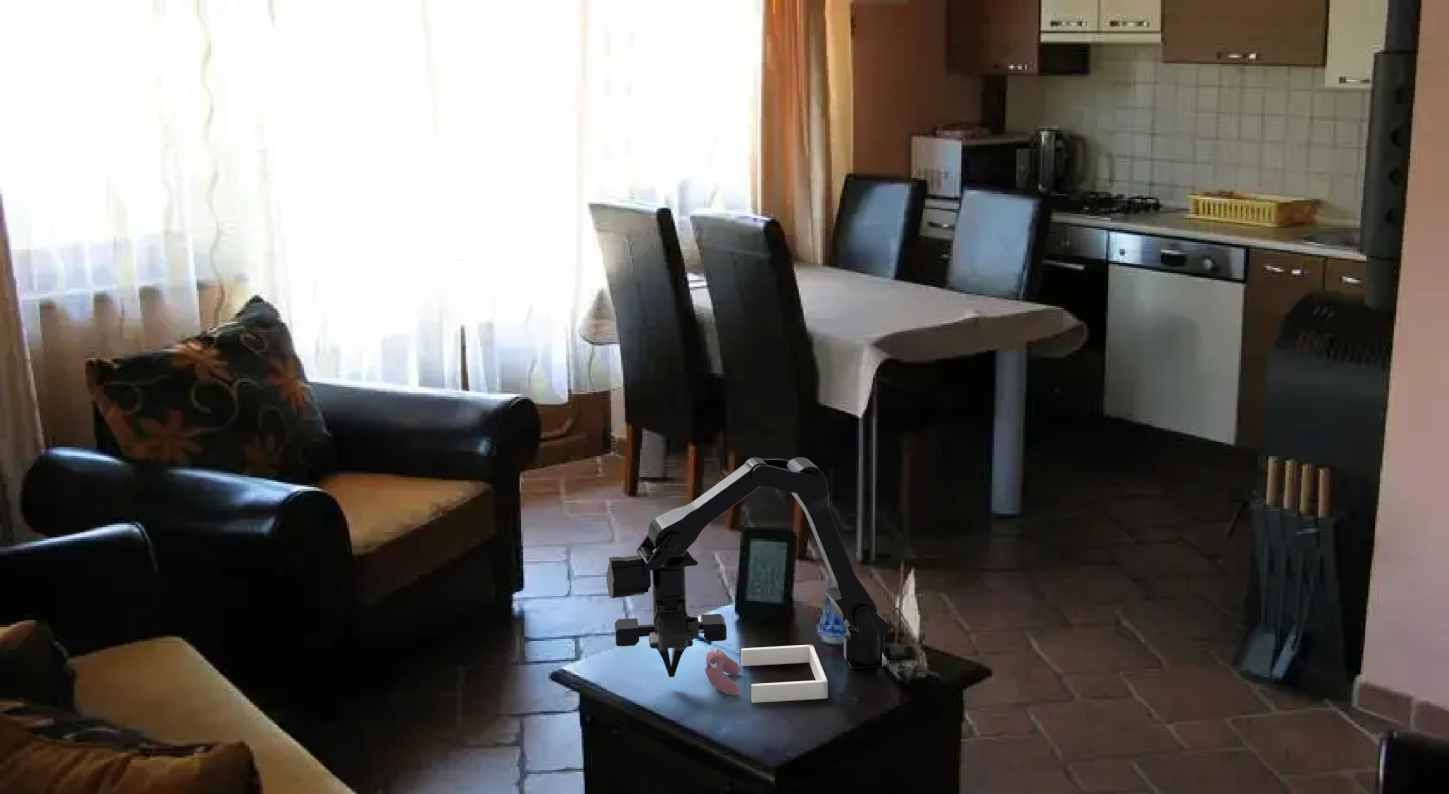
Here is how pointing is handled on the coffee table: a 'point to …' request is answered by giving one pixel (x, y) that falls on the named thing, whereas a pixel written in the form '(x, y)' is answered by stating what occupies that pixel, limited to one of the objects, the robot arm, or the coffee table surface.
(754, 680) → the coffee table surface
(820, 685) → the white u-shaped bracket
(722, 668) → the pink curved piece
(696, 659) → the coffee table surface
